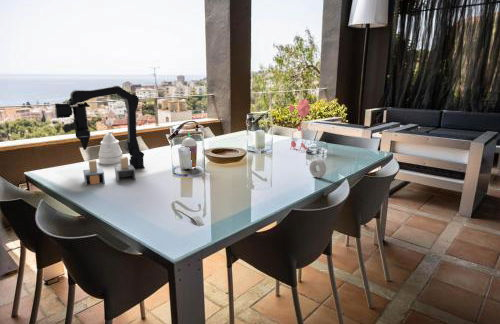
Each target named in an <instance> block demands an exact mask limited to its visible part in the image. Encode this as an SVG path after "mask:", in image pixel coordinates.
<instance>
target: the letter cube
mask: <svg viewBox="0 0 500 324" xmlns="http://www.w3.org/2000/svg"><path fill="white" fill-rule="evenodd" d="M89 180H90V181H89V183H90V184H89V185H96V184H100V180H99V174H96V175H89Z"/></svg>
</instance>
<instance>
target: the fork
mask: <svg viewBox="0 0 500 324" xmlns="http://www.w3.org/2000/svg"><path fill="white" fill-rule="evenodd" d="M174 210H176V211H179V212H180V213H183V214H185V216H187V217H189V218H190V219H191V218H192V219H193V220H194V221H195V223H196V224H197V226H198V227H203V226H205V223H204V221H203V220H202V218H201V217H200V215H198V214H197V215H193V216H192V215H190V214H189V213H188V212H187V211H185V209H184V208H183V207H180V206H179V207H175V208H174Z"/></svg>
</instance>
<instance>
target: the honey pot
mask: <svg viewBox="0 0 500 324" xmlns="http://www.w3.org/2000/svg"><path fill="white" fill-rule="evenodd" d="M113 133H114V130H108V131H107V133H105V135H104V137H103V138H102V140H101V141H100V147H99V151H98V162H99V164H101V165H113V164H119V163H121V160H120V157H123V151H122V149H121V147H120V144H119V143H120V140H118V139H116V137H115V136H114V135H113Z"/></svg>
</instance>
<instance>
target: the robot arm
mask: <svg viewBox="0 0 500 324" xmlns="http://www.w3.org/2000/svg"><path fill="white" fill-rule="evenodd" d="M111 95H112V96H113V95H117V96H118V97H120V99H123V101H124V105H125V108H126V109H125V110H126V112H127V115H126V116H127V121H126V122H127V138H126V140H124V141H123V143H124V145H123V146H124V147H123V149H125V151H126V152H127V153H128V154H129V156H130V159H128V162H129V165H133V167H134V168H135V170H137V169H145V165H144V156H145V153H144V152H142V151H141V150H140V144H139V141H138V139H137V110H138V108H139V97H138V95H136V94H134V93H130V92H128V91H127V90H125V89H124V88H122V87H121V86H119V85H114V86H108V87H103V88H97V89H96V88H95V89H91V90H90V89H75V90H72V91H71V93H70V96H69V97H70V98H69V99H68V100H67V102H66V103H64V102H63V103H54V107H55V108H54V113H55V118H56V119H65V118H71V116H73V121H72V122H70V123H66V124H63V125H62V126H61V129H62V131H63V133H64V134H68V133H70V132H72V131H73V130H74V132H75V138H77V139H78V140H79V141H80V144H81V147H82V148H83V151H85V150H87V148H88V144H89V142H90V138H91V132H90V130H89V125H88V124H89V123H88V114H87V108H90V107H91V105H90V104H89V103H87V101H89V100H91V99H94V98H101V97H106V96H111Z"/></svg>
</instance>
